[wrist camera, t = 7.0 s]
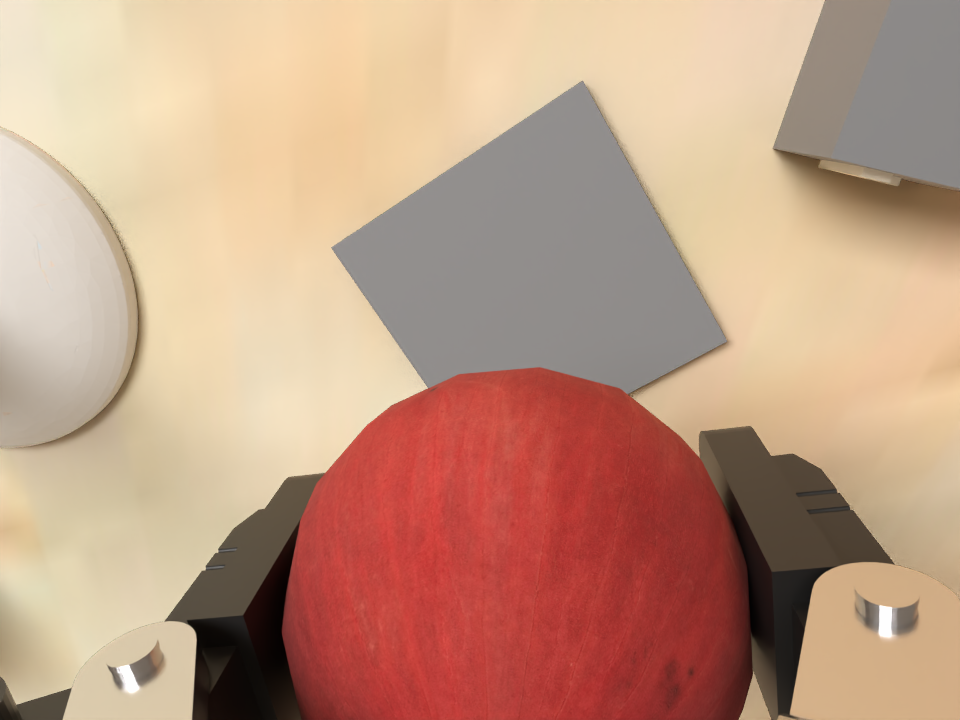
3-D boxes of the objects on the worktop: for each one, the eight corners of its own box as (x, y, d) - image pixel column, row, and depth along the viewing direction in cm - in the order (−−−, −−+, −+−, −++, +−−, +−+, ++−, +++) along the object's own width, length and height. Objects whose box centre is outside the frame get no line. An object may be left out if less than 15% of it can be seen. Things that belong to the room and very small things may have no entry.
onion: (692, 587, 13) (883, 1206, 6) (395, 602, 14) (221, 1172, 6) (680, 287, 11) (941, 623, 4) (339, 323, 12) (3, 666, 5)
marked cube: (831, -21, 21) (913, -58, 16) (993, 17, 21) (1122, -9, 16) (769, 156, 23) (827, 167, 18) (918, 191, 23) (1015, 212, 18)
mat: (581, 81, 23) (582, 80, 22) (723, 336, 25) (727, 341, 24) (335, 244, 25) (331, 247, 24) (486, 462, 27) (484, 469, 27)
